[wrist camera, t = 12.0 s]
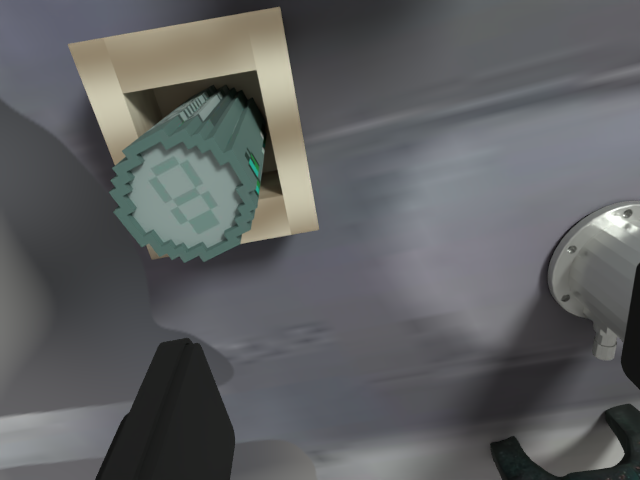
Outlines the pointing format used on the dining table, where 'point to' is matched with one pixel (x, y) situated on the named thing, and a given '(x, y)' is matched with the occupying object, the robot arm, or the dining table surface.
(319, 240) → the dining table surface
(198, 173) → the can
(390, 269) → the dining table surface
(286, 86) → the well block
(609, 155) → the dining table surface
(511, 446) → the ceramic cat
